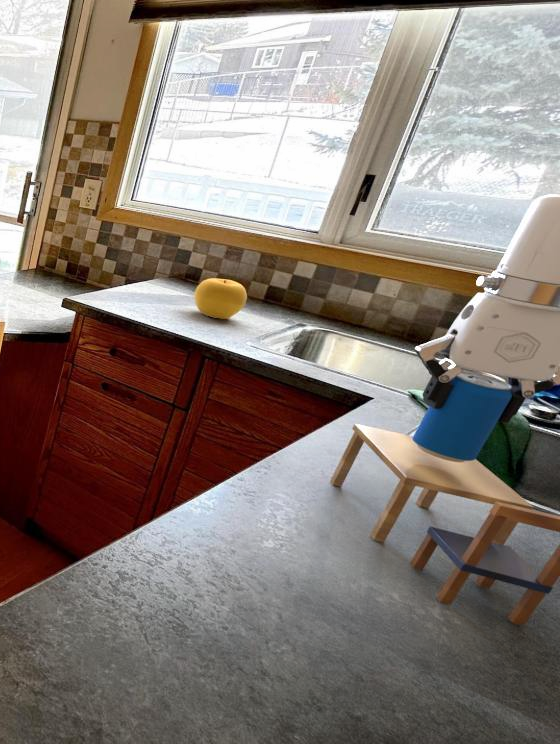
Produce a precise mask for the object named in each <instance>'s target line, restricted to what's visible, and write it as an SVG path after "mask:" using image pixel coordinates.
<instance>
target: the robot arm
mask: <svg viewBox="0 0 560 744" xmlns="http://www.w3.org/2000/svg"><path fill="white" fill-rule="evenodd" d="M476 286H478V287H483V290H484V292H477V293H476V294H475V295H474V296H473V297H472V298H471V299H470V301H469V302H468V303H467V304H466V305H465V306H464V307H463V308H462V309H461V311H460V312H459V314H458V315H457V316H456V318H455V319H454V321H453V323H452V324H451V326H450V327H449V329H448V330H447V332H446V333H445V335H444V336H442V337H439V338H437V339H433V340H431V341H428V342H426V343H423V344H420V345H417V346H415V347H414V352H415V353H416V355H417V356H418V358H419V359H420V361H421V363H422V364H423V366H424V368H425V369H426V370H427V371H428V374H429V375H430V376H431V377H430V379H429V380H428V383H427V385H426V387H425V388H424V390H423V392H422V397H423V398H422V400H423V401H422V402H424V403H426V404H427V405H428V406H431V407H432V408H435V409H439V408H441V407H442V405H443V404H444V402H445V400H446V398H447V396H448V394H449V392H450V391H451V389H452V387H453V385H452V384H450V383H449V382H450V380H452V379H453V378H454V377H456V376H457V375H458V374H460V373H461V372H463V371H471V372H476V373H482V374H483V373H484V374H490V375H495V376H501V377H506V378H508V384H509V385H511V386H512V388H511V389H510V392H511V394H512V397H511V399H510V401H509V402H508V404H507V406H506V408H505V409H504V411H503V413H502V414H501V416H500V418H499V419H498V421H500V422H503V423H506V424H507V423H510V422H511V420H512V419H513V417H515V416H517V414H518V413H519V410H520V409H521V407H522V405H523V404H524V402H525V401H526V399H531V398H534V397H535V396H536V394H538V393H541V392H544V391H547V390H550V389H552V388H553V387H554V386H559V385H560V194H546V195H542V196H539V197H537V198H536V199H535V200H534V201H533V202H532V203H530V205H529V207H528V209H527V211H526V213H525V214H524V216H523V219H522V220H521V223H520V224H519V226H518V228H517V229H516V231H515V233H514V235H513V237H512V239H511V241H510V243H509V245H508V246H507V248H506V251H505V252H504V254H503V256H502V258H501V260H500V262H499V263H498V265H497V267H496V269H495V271H492V273H491V275H488V276H486V275H485V276H484V275H480V276H479V277H478V278H477V280H476ZM437 353H438V354H439V356H440V357H442V358H444V359H442V360H441V361H438V360H437V358H436V357H435V355H436V354H437Z"/></svg>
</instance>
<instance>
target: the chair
mask: <svg viewBox="0 0 560 744" xmlns="http://www.w3.org/2000/svg"><path fill="white" fill-rule="evenodd" d="M506 519H507V520H511V521H515V522H518V523H520V524H524V525H527V526H531V527H532V526H533V527H536V528H541V529H545V530H549V531H553V532H557V533H560V515H556V514H553V513H547V512H543V511H539V510H536V509H532V510H531V509H527V508H523V507H519V506H514V505H510V504H506V503H502V502H497V501H496V502H495V504H494V505H493V504H492V507H491V509H490V510H489V514H488V515H487V517H486V518H485V520H484V522H483V523H482V525H481V527H480V528H479V530H478V531H477V533H476V535H475V536H474V537H473V536H471V535H466V534H462V533H457V532H454V531H450V530H446V529H442V528H438V527H434V526H429V527H428V529H427V530H426V533H427V534H426V535H425V537H424V539H423V540H422V542H421V544H420V545H419V547H418V549H417V550H416V552H415V554H414V555H413V557H412V559H411V560H410V562H409V565H410V566H411V567H412V568H413V569H416V570H419V571H423V570H424V569H425V567H426V565H427V564H428V562H429V560H430V558H431V557H432V555H433V554H434V552H435V551H436V549H437V547H439V548H440V550H442V551H443V553H444V554H445V555H446V556H447V557H448V558H449V559H450V561H452V563H453V564H454V565H455V567H454V568H453V570H452V572H451V573H450V575H449V576H448V578H447V580H446V582H445V583H444V584H443V586H442V587H441V589H440V591H439V592H438V593H437V596H436V598H437V600H438V601H439V603H441V604H445V605H448V606H451V605H452V603H453V602H454V600H455V599H456V597H457V595H458V594H459V592H460V590H461V589H462V588H463V586H464V585H465V583H466V581H467V580H468V578H469V577H470V575H471V574H473V575H477V578H476V579H475V583H476V584H477V585H478V586H479V587H480V588H484V589H488V590H490V588H491V587H492V585H493V584H494V582H495V581H499V582H502V583H506V584H510V585H514V586H517V587H521V588H525V589H526V591H524V594H523V595H522V596H521V598H520V599H519V601H518V602H517V603H516V604H515V606H514V608H513V610H511V612H510V614H509V615H508V616H507V619H508V620H509V621H510V622H511V623H512V624H514V625H518V626H521V627H524V626H525V624H526V623H527V622H528V621H529V620H530V618H531V616H532V615H533V613H534V612H535V610H536V609H537V608H538V606H539V605H540V604H541V602H542V601H543V599H544V598H545V596H546V595H548V594H550V593H551V592H552V590H553V588H554V585H555V584H556V583H557V581H558V580H559V578H560V544H558V546H557V547H556V549H555V550H554V552H553V553H552V555H551V556H550V558H549V559H548V560H547V562H546V563H545V565H544V566H543V567H542V569H541V571H540V572H539V573H538V572H537V571H536V570H535V569H534V568H533V567H532V566H531V565H530V564H529V563H528V562H526V560H524V559H523V557H521V556H520V555H519V554H518V553H517V552H516V551H515V550H514V549H513V548H512V547H511V546H510V545H506V544H504V545H501V544H498V543H494V542H492V541H493V539H494V538H495V536H496V535H497V533H498V531H499V530H500V528H501V527H502V525H503V524H504V522H505V521H506Z"/></svg>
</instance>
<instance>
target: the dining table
mask: <svg viewBox="0 0 560 744" xmlns="http://www.w3.org/2000/svg"><path fill="white" fill-rule="evenodd" d="M351 429H352V430H353V431H354V432H353V434H352V436H351V438H350V440H349V441H348V444H347V446H346V448H345V451H344V452H343V454H342V456H341V458H340V460H339V462H338V464H337V466H336V468H335V470H334V472H333V474H332V476H331V478H330V480H329V483H330V484H331V485H332V486H335V487H340V488H341V487H343V484H344V482H345V481H346V479H347V477H348V474H349V472H350V471H351V468H352V466H353V464H354V463H355V461H356V458H357V457H358V455H359V453H360V451H361V449H362V447H363V445H364V443H365V444H366V445H367V446H368V447H369V448H370V450H372V451H373V453H374V454H375V455H376V456H378V458H379V459H380V460H381V461H382V462H383V464H384V465H386V467H387V468H389V470H390V471H391V472H392V473H393V474H394V476H396V477H397V479H399V481H398V483H397V485H396V487H395V489H394V490H393V491H392V494H391V496H390V498H389V500H388V501H387V504H386V505H385V507H384V509H383V511H382V513H381V514H380V516H379V518H378V519H377V522H376V523H375V525H374V527H373V528H372V530H371V532H370V534H369V536H370V537H371V539H372V540H373V541H376V542H380V543H385V541H386V539H387V538H388V536H389V534H390V532H391V531H392V529H393V527H394V526H395V523H396V522H397V520H398V518H399V517H400V514H401V513H402V511H403V509H404V508H405V506H406V504H407V503H408V501H409V499H410V497H411V496H412V493H413V491H414V490H415V488H416V487H417V488H422V490H421V492H420V493H419V495H418V497H417V499H416V501H415V503H416V504H417V506H418V507H421V508H425V509H430V507H431V506H432V504H433V502H434V500H435V499H436V497H437V495H438V493H444V494H446V495H447V494H448V495H451V496H455V497H460V498H463V499H469V500H472V501H477V502H480V503H481V502H482V503H485V504H489V505H492V506H493V505H494V504H495V502H496V501H497V502H502V503H506V504H510V505H514V506H519V507H523V508H527V509H531V510H534V506H533V505H532V504H531V503H530V502H529V501H527V500H526V499H525V498H523V497H522V496H521V495H520V494H519V493H517V491H515V490H514V489H513V488H511V487H510V486H509V485H508V484H506V482H504V481H503V480H501V478H500V477H498V476H497V475H495V474H494V473H493V472H492V471H491V470H490V469H488V468H487V467H486V466H484V465H483V464H482V463H481V462H480V461H478V460H477V458H476V459H475V460H473V461H465V462H453V461H448V460H444V459H441V458H438V457H435V456H432V455H430V454H428V453H426V452H424V451H422V450H421V449H419V448H418V447H417V444H416V443H415V442H414V441H413V440H412V438H413V436H414V435H410V434H406V433H405V434H404V433H400V432H396V431H391V430H386V429H381V428H377V427H372V426H367V425H362V424H358V423H354V424H353V426H352V428H351ZM518 523H519V522H515V521H511V520H507V519H506V521H505V522H504V524H503V525H502V527H501V528H500V530H499V531H498V533H497V535H496V536H495V538H494V539H493V541H492V542H494V543H498V544H501V545H505V544H506V542H507V540H508V539H509V537H510V536H511V534H512V533H513V531H514V529H515V528H516V526H517V525H518Z"/></svg>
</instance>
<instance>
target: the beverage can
mask: <svg viewBox="0 0 560 744" xmlns="http://www.w3.org/2000/svg"><path fill="white" fill-rule="evenodd" d="M449 383H450V384H452V385H453V387H452V389H451V391H450V392H449V394H448V396H447V398H446V400H445V402H444V404H443V405H442V407H441V408H439V409H435V408H432V407H431V406H430V405H428V408H427V410H426V412H425V413H424V416H422V419H421V421H420V423H419V424H418V427H417V429H416V430H415V432H414V434H413V435H412V436H413V438H412V440H413V441H414V442H415V443H416V444H417V447H418V448H419V449H421V450H422V451H424V452H426V453H428V454H430V455H432V456H435V457H438V458H441V459H444V460H448V461H453V462H465V461H473V460H475V459H476V460H477V456H478V455H479V453H480V452H481V450H482V449H483V446H484V445H485V444H486V442H487V440H488V438H489V437H490V436H491V434H492V431H493V429H494V428H495V426H496V425H497V423H498V421H499V418H500V416H501V414H502V413H503V411H504V409H505V408H506V406H507V404H508V402H509V401H510V399H511V397H512V394H511V392H510V389H511V388H512V386H511V385H509V382H506V381H504V380H501V379H498V378H495V377H493V376H490V375H486V374H483V373H479V372H475V371H469V370H464V371H463V372H461V373H460V374H458V375H457V376H456V377H454V378H453V379H452V380H450V382H449Z"/></svg>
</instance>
